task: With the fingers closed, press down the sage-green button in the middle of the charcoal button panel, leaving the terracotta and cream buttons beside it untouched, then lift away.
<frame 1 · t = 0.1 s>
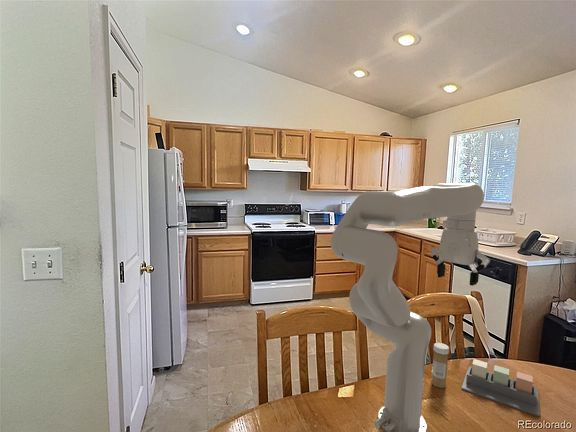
hand: (456, 280, 98), 37 cm above the table, tool pointing down, fingers open, 9 cm apart
sprinkles bottle: (438, 384, 106), on the table
button panel: (499, 390, 104), on the table
green button: (500, 376, 103), point 5 cm above the table, slide at 0.0 cm
cream button: (479, 369, 107), point 5 cm above the table, slide at 0.0 cm
terracotta button: (523, 383, 100), point 5 cm above the table, slide at 0.0 cm
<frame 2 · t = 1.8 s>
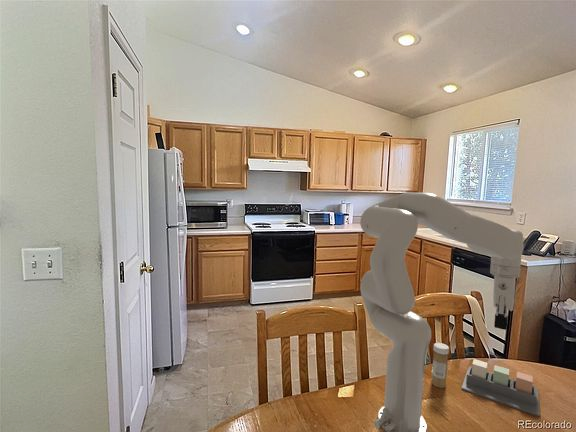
hand: (500, 327, 99), 22 cm above the table, tool pointing down, fingers closed
nothing on the table moved.
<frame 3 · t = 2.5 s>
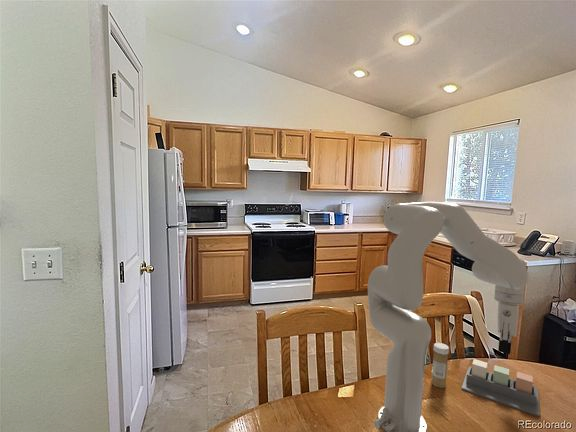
hand: (504, 351, 103), 13 cm above the table, tool pointing down, fingers closed
nothing on the table moved.
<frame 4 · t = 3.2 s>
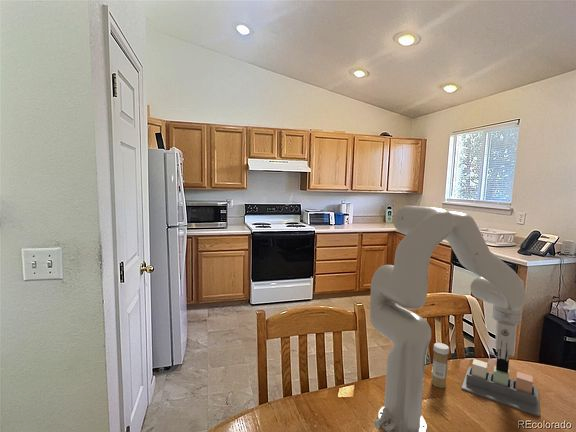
hand: (502, 370, 103), 7 cm above the table, tool pointing down, fingers closed
green button: (500, 377, 103), point 5 cm above the table, slide at 0.2 cm, touching gripper
everything else where it was.
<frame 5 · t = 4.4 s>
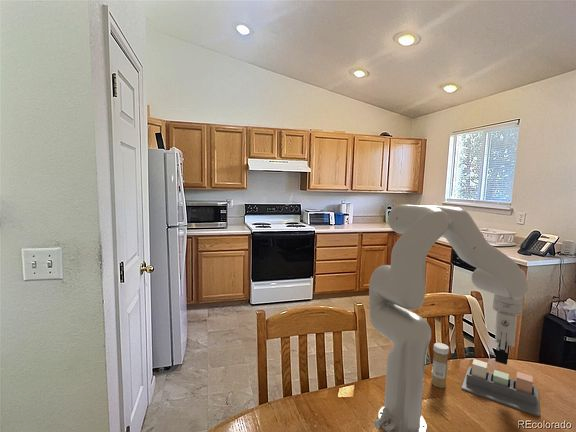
hand: (501, 361, 102), 10 cm above the table, tool pointing down, fingers closed
green button: (500, 381, 103), point 3 cm above the table, slide at 1.6 cm
everything else where it was.
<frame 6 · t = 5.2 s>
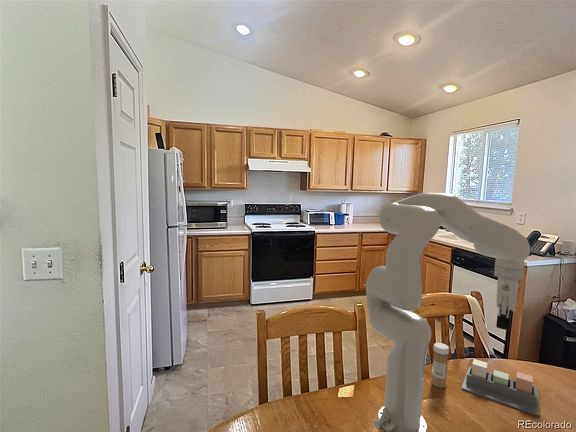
hand: (502, 328, 103), 20 cm above the table, tool pointing down, fingers closed
nothing on the table moved.
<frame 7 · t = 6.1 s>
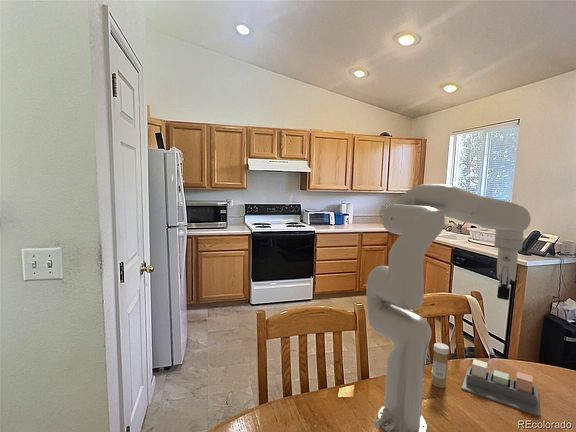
hand: (503, 298, 106), 29 cm above the table, tool pointing down, fingers closed
nothing on the table moved.
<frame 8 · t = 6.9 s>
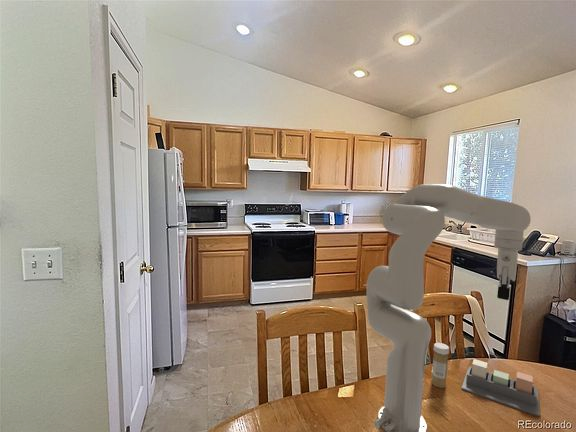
hand: (503, 298, 106), 29 cm above the table, tool pointing down, fingers closed
nothing on the table moved.
at the end: green button slide at 1.6 cm; terracotta button slide at 0.0 cm; cream button slide at 0.0 cm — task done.
